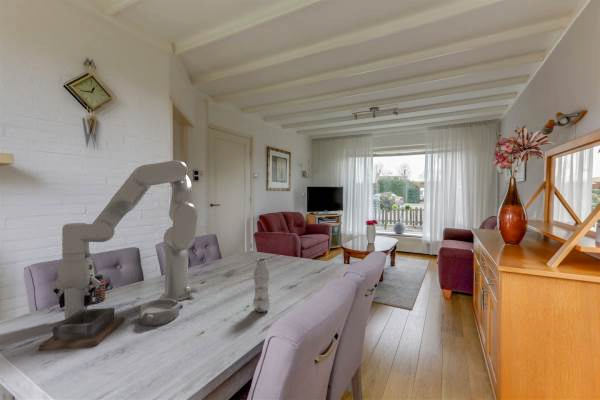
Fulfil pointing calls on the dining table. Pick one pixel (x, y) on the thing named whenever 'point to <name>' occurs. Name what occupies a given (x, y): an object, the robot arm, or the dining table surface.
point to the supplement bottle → (99, 290)
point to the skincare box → (73, 301)
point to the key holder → (83, 329)
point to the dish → (159, 311)
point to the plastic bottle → (261, 286)
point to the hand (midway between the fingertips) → (75, 305)
